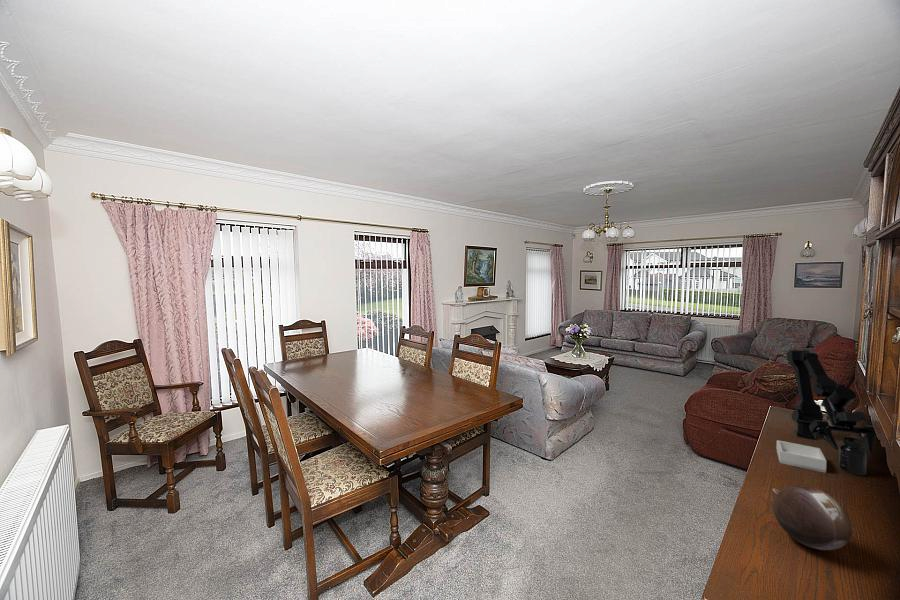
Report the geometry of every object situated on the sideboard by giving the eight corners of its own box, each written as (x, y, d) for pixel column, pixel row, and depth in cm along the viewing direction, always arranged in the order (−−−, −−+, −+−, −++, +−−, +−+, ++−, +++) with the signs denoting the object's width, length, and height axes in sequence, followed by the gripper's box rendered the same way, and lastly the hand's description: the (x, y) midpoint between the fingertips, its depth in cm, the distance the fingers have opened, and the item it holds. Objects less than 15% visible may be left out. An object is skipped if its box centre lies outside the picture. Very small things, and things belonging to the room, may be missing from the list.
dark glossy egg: (825, 570, 88) (828, 511, 88) (759, 530, 103) (760, 479, 102) (865, 557, 92) (868, 500, 92) (796, 520, 107) (797, 471, 106)
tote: (776, 450, 150) (776, 440, 150) (819, 459, 142) (819, 448, 142) (779, 462, 140) (780, 451, 140) (825, 472, 132) (826, 461, 132)
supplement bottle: (852, 466, 137) (854, 435, 136) (872, 476, 130) (873, 444, 129) (832, 466, 137) (834, 435, 137) (850, 475, 130) (852, 443, 130)
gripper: (813, 399, 141) (829, 438, 131) (880, 405, 133) (901, 447, 124) (802, 412, 148) (816, 450, 138) (864, 418, 141) (884, 459, 131)
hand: (853, 451), depth 133 cm, fingers open, 9 cm apart
